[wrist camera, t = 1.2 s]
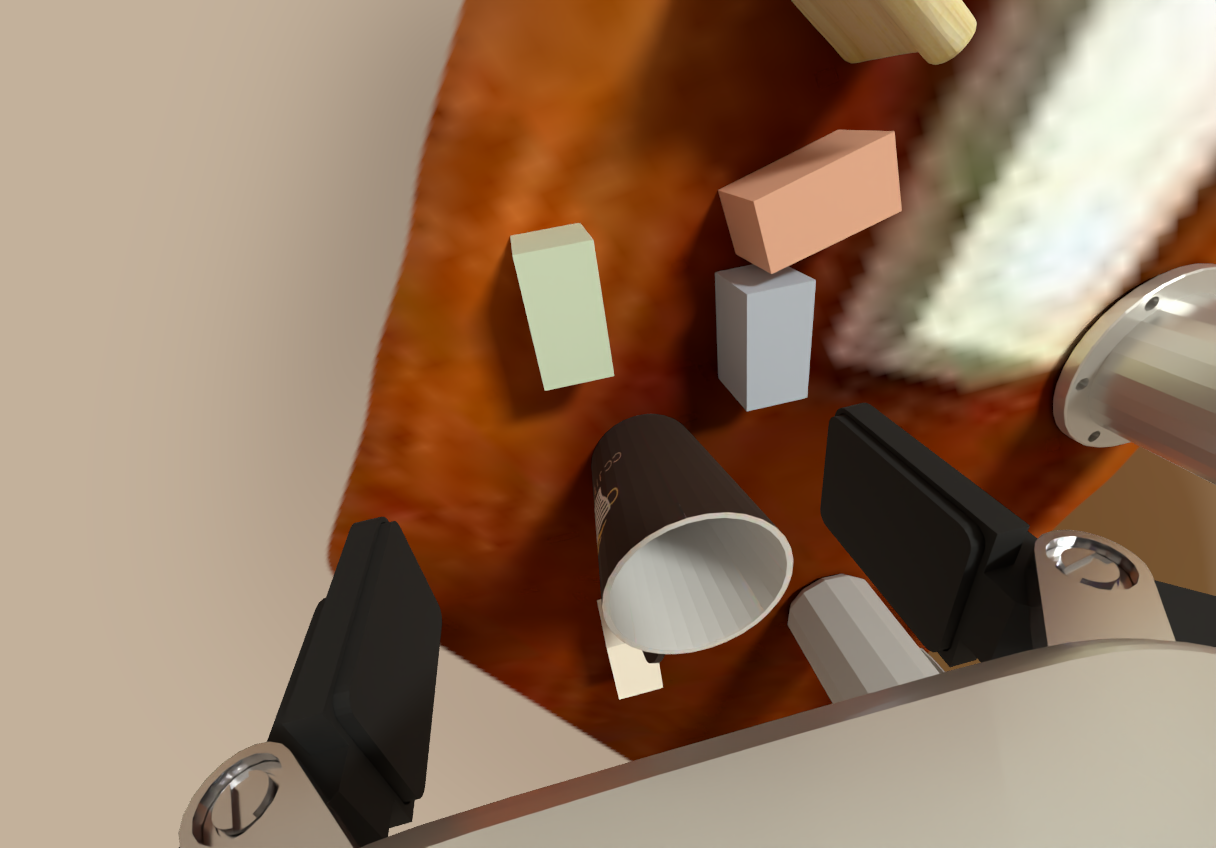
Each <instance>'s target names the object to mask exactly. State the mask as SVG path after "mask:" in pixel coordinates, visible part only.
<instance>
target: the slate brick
mask: <svg viewBox="0 0 1216 848" xmlns="http://www.w3.org/2000/svg"><path fill="white" fill-rule="evenodd" d="M815 286H816V280H814V279H812V278H810V277H808V276H806V275H804V274H802V273H800V272H798V271H796V270H795V269H793V268H791V267H789V266H788V267H786V268H783V269H781V270H779V271H777V272H775V273H773V274H770V273H768V272H767V271H765V270H763V269H761V268H759V267H758V266H756V265H754V264H752V265H747V266H742V267H737V268H732V269H727V270H723V271H718V272H715V293H716V325H717V356H718V378H719V380H720V381H721V382H722V383H723V384H724V385H725V387H726V388H727V389H728V390H729V391H730V392H731V394H732V395H733V396H734V397H735V398H736V399H737V401H738V402H739V403H740V404H741V405H742V406H743V407H744V409H745V410H746V411H751V410H755V409H759V408H764V407H768V406H773V405H777V404H781V403H786V402H790V401H795V400H799V399H803V398H807V393H808V380H809V366H810V353H811V339H812V326H813V313H814V299H815Z"/></svg>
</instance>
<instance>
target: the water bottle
mask: <svg viewBox="0 0 1216 848" xmlns="http://www.w3.org/2000/svg"><path fill="white" fill-rule="evenodd" d="M788 627H789V628H790V630H791V632H792V634H793V635H794V637H795V639H796V640H797V642H798V644H799V646H800V647H801V649H802V651H803V653H804V654H805V656H806V658H807V660H808V661H809V663H810V665H811V667H812V668H813V670H814V672H815V673H816V675H817V677H818V679H819V680H820V682H821V684H822V686H823V687H824V689H825V691H826V693H827V694H828V696H829V698H830V699H831V701H832V703H833V704H834V703H837V702H841V701H844V700H848V699H851V698H855V697H858V696H862V695H866V694H869V693H873V692H876V691H880V690H883V689H887V688H890V687H894V686H897V685H901V684H905V683H908V682H912V681H915V680H919V679H922V678H926V677H929V676H933V675H937V674H940V673H944V672H945V671H944V670H943V669H942V668H941V667H940V666H939V665H938V663H937V662H936V661H935V660H934V659H933V658H932V657H931V656H930V655H929V654H928V653H927V652H925V651H924V650H923V649H922V648H919V647H918V646H917V645H916V643H915V642H914V641H913V640H912V638H911V637H910V636H909V635H908V633H907V632H906V631H905V630H904V628H903V627H902V626H901V625H900V623H899V622H898V621H897V620H896V618H895V617H894V616H893V615H892V613H891V612H890V611H889V610H888V608H887V607H886V606H885V605H884V603H883V602H882V601H881V600H880V598H879V597H878V596H877V595H876V593H875V592H874V591H873V590H872V588H871V587H870V586H869V585H868V583H867V582H866V581H865V580H864V579H861V578H857V577H853V576H849V575H844V574H838V575H834V576H829V577H824V578H821V579H819V580H817V581H816V582H814V583H812V584H811V585H809V586H807V587H806V588H804V589H803V590H802V591H801V592H800V593H799V594H798V596H797V597H796V598H795V599H794V600H793V602H792V603H791V606H790V612H789V618H788Z"/></svg>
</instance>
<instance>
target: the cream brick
mask: <svg viewBox="0 0 1216 848" xmlns="http://www.w3.org/2000/svg"><path fill="white" fill-rule="evenodd" d="M597 604H598V609H599V613H600V618H601V623H602V628H603V633H604V638H605V642H606V647H607V651H608V656H609V660H610V664H611V668H612V672H613V676H614V680H615V684H616V688H617V692H618V696H619V699H623V698H627V697H630V696H634V695H638V694H641V693H645V692H649V691H652V690H656V689H660V688H663V685H662V679H661V672H660V666H659V663H648V662H647V661H646V659H645V656H644V654H643V652H642V650H639V649H637V648H634V647H631V646H629V645H628V644H626V643H624V642H623V641H621V640H619V639H618V638H617V637H616V635H615V634H614V633H613V632H612V631H611V630H610V629H609V627H608V625H607V623H606V621H605V619H604V614H603V609H602V601H601V599H600V600H597Z"/></svg>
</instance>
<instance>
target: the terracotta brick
mask: <svg viewBox="0 0 1216 848" xmlns="http://www.w3.org/2000/svg"><path fill="white" fill-rule="evenodd" d="M718 193H719V196H720V200H721V203H722V207H723V210H724V214H725V217H726V221H727V224H728V228H729V232H730V235H731V239H732V242H733V246H734V249H735V253H736V255H738V256H740V257H742V258H743V259H745V260H747V261H749V262H751V263H752V264H754V265H756V266H758V267H759V268H761V269H763V270H765V271H767V272H768V273H770V274H773V273H775V272H777V271H779V270H781V269H783V268H786V267H788V266H790V265H792V264H794V263H796V262H798V261H800V260H802V259H804V258H806V257H808V256H810V255H812V254H814V253H816V252H818V251H820V250H822V249H824V248H827V247H829V246H831V245H833V244H835V243H837V242H839V241H841V240H843V239H845V238H847V237H849V236H851V235H853V234H855V233H857V232H859V231H861V230H863V229H865V228H868V227H870V226H872V225H874V224H876V223H878V222H880V221H882V220H884V219H886V218H888V217H890V216H892V215H894V214H896V213H898V212H900V211H902V209H901V198H900V187H899V176H898V165H897V154H896V143H895V132H894V131H865V130H837V131H835V132H833V133H831V134H829V135H827V136H825V137H823V138H821V139H819V140H817V141H815V142H813V143H811V144H809V145H807V146H805V147H803V148H801V149H799V150H797V151H795V152H793V153H791V154H789V155H787V156H785V157H783V158H781V159H779V160H777V161H775V162H773V163H771V164H769V165H767V166H765V167H763V168H761V169H759V170H757V171H755V172H753V173H751V174H749V175H747V176H745V177H743V178H741V179H739V180H737V181H735V182H733V183H731V184H729V185H727V186H725V187H723V188H721V189H719V190H718Z"/></svg>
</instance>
